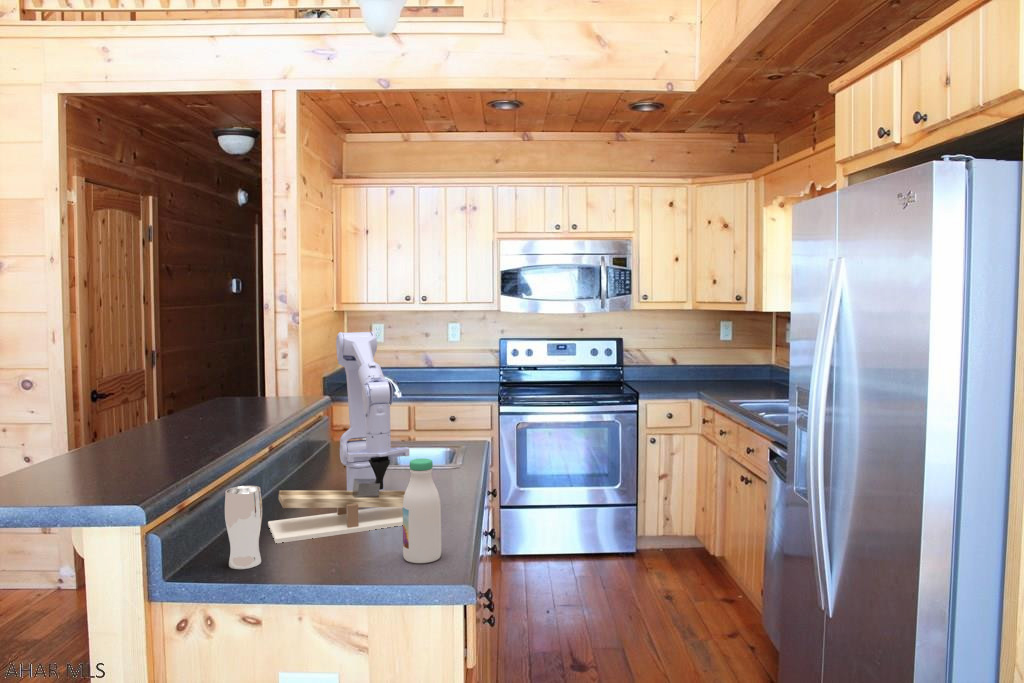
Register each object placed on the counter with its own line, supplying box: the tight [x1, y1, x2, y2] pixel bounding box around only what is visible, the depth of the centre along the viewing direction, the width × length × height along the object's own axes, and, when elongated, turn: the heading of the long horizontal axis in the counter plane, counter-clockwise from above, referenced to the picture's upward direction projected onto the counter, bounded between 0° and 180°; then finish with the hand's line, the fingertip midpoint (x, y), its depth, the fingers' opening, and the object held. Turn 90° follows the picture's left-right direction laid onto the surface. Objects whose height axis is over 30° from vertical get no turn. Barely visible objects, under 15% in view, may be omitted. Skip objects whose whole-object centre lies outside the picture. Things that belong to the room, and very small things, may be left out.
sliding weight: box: [352, 479, 380, 498], centre depth 172 cm, size 5×5×4 cm
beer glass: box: [224, 485, 263, 570], centre depth 144 cm, size 7×7×15 cm
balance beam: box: [278, 490, 406, 509], centre depth 170 cm, size 30×9×3 cm, turn 115°
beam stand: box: [267, 504, 403, 544], centre depth 170 cm, size 34×14×6 cm, turn 115°
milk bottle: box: [402, 458, 442, 564], centre depth 147 cm, size 8×8×20 cm
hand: (379, 488), depth 173 cm, fingers closed
